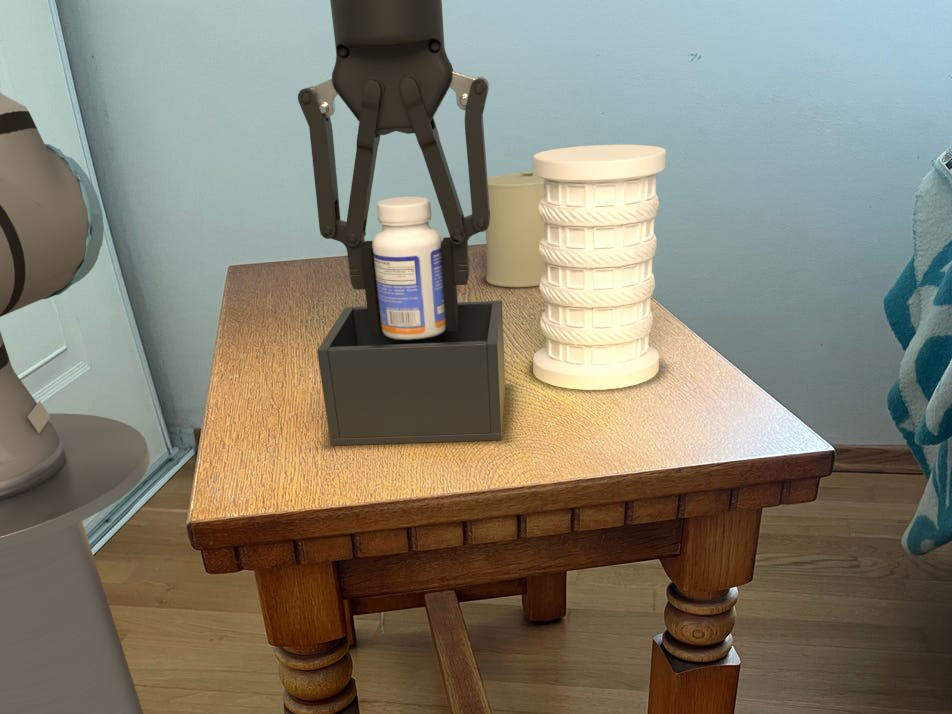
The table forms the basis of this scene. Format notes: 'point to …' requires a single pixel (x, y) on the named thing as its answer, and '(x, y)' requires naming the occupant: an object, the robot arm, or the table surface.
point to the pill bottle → (409, 270)
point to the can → (515, 230)
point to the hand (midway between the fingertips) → (414, 328)
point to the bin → (415, 380)
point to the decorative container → (598, 265)
